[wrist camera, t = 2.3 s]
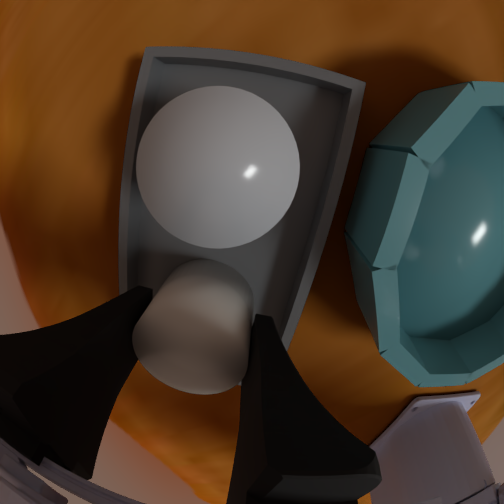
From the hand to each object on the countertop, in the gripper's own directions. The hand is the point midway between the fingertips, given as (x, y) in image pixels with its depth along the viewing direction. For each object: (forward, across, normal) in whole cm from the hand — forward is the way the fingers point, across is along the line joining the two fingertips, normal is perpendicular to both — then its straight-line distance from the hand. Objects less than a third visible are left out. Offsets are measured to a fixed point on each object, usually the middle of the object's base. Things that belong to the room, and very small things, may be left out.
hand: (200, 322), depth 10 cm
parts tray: (+2, 0, -3) cm, 4 cm away
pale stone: (+2, 0, 0) cm, 2 cm away
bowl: (+2, -11, -6) cm, 13 cm away
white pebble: (+2, 0, -6) cm, 6 cm away
